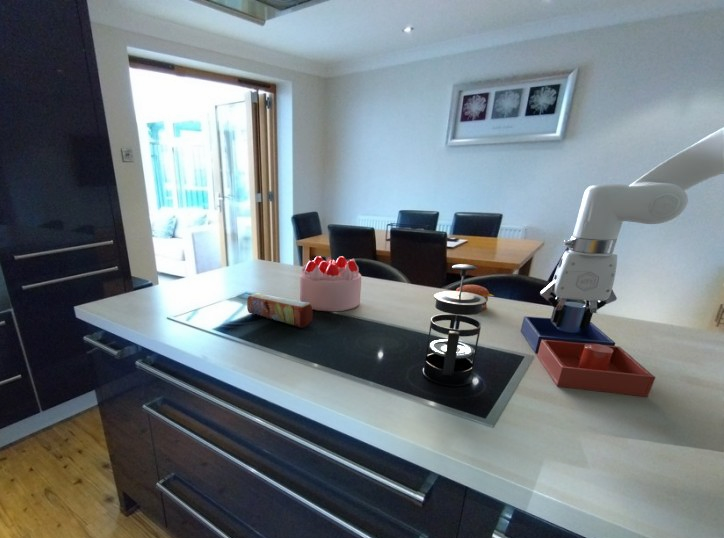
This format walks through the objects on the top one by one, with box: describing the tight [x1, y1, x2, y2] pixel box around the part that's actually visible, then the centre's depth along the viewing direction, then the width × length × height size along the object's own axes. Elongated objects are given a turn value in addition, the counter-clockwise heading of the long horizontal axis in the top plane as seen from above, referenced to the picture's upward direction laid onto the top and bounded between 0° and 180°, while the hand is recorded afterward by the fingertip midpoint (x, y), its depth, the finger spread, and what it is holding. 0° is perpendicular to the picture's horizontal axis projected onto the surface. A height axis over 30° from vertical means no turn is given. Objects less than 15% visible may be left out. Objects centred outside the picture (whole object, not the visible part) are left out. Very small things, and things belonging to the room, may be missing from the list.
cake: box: [299, 255, 362, 312], centre depth 125 cm, size 20×20×14 cm
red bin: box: [537, 340, 656, 398], centre depth 78 cm, size 14×14×4 cm
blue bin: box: [520, 315, 616, 354], centre depth 92 cm, size 14×14×4 cm
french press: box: [422, 263, 487, 388], centre depth 75 cm, size 12×9×23 cm
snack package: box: [246, 292, 313, 328], centre depth 113 cm, size 21×7×7 cm, turn 48°
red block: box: [577, 343, 613, 371], centre depth 78 cm, size 9×4×6 cm, turn 161°
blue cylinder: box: [556, 301, 587, 333], centre depth 91 cm, size 9×4×6 cm, turn 161°
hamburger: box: [455, 284, 495, 311], centre depth 120 cm, size 9×10×7 cm
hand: (568, 325), depth 90 cm, fingers closed on blue cylinder, 4 cm apart
